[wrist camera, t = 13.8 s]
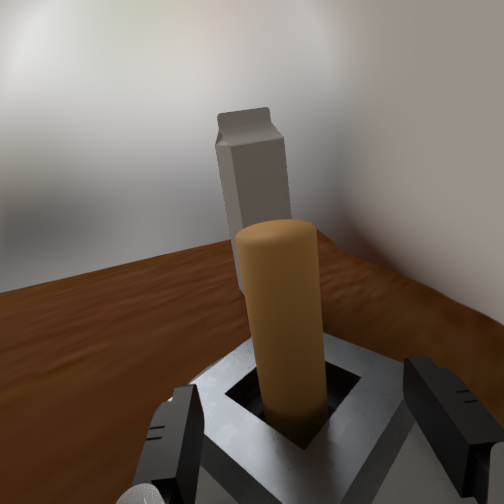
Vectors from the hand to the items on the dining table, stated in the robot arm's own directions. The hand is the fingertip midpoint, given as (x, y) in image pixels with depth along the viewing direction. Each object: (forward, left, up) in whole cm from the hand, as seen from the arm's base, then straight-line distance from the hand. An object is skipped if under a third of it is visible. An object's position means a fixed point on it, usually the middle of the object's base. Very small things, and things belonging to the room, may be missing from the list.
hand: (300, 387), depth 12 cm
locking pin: (-4, +4, -9) cm, 11 cm away
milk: (-20, +19, -11) cm, 30 cm away
